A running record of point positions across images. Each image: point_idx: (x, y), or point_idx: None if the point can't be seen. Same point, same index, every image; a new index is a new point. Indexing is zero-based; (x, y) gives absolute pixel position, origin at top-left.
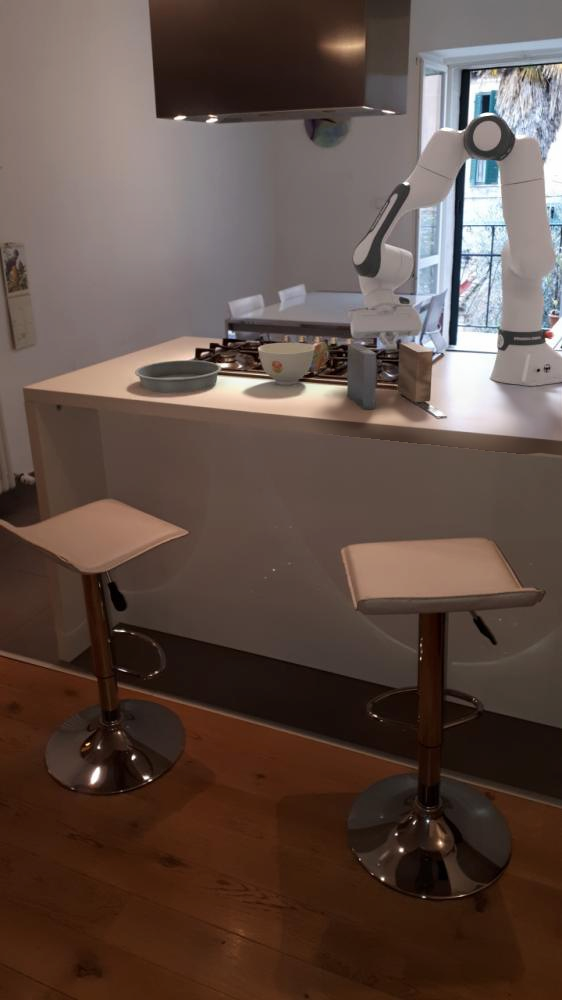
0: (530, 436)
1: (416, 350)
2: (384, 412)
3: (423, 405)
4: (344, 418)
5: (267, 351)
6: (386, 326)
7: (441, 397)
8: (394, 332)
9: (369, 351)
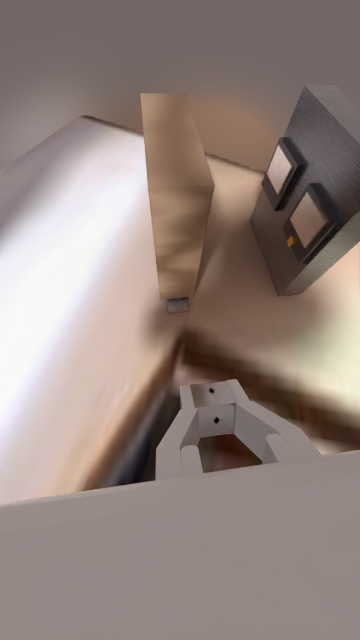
0: (93, 124)
1: (183, 104)
2: (235, 205)
3: None
4: None
5: None
6: (301, 518)
7: (115, 260)
8: (187, 475)
9: (325, 98)
